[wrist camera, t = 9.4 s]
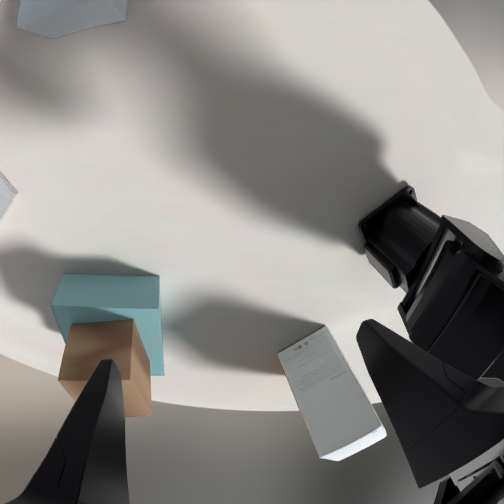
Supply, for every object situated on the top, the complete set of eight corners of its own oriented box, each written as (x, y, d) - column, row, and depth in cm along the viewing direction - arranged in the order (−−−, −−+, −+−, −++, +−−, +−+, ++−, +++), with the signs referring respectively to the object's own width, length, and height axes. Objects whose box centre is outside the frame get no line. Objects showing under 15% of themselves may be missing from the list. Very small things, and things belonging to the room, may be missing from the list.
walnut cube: (133, 318, 18) (130, 379, 14) (150, 361, 20) (152, 415, 16) (71, 323, 17) (57, 380, 13) (94, 364, 19) (89, 416, 15)
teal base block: (159, 273, 21) (158, 308, 18) (162, 341, 25) (164, 375, 22) (65, 271, 19) (50, 304, 15) (84, 338, 23) (78, 371, 19)
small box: (275, 352, 29) (317, 459, 19) (326, 323, 29) (384, 425, 18) (300, 377, 34) (337, 462, 23) (342, 353, 34) (388, 435, 23)
